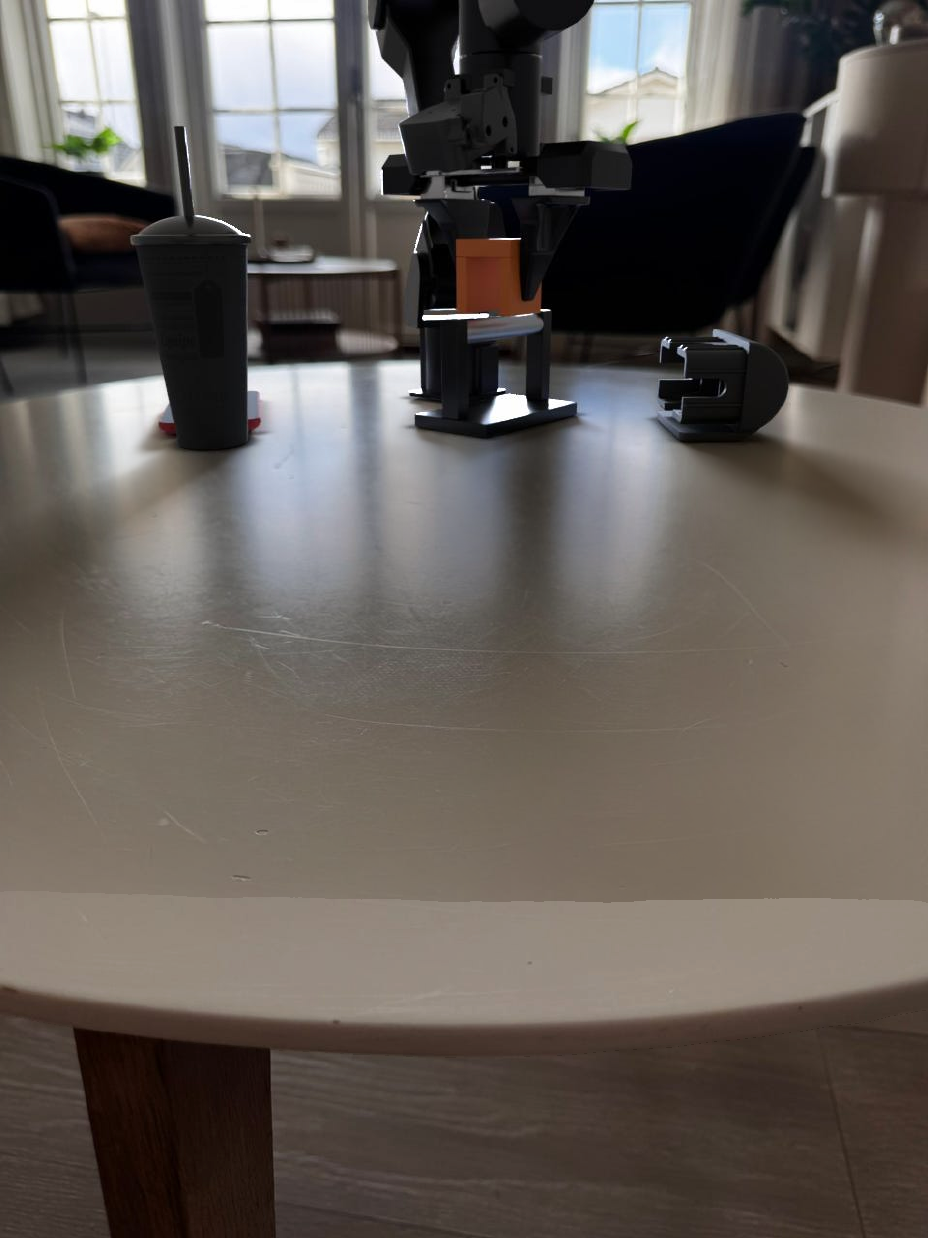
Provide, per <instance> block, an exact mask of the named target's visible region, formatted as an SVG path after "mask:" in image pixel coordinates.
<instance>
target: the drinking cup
mask: <svg viewBox="0 0 928 1238" xmlns="http://www.w3.org/2000/svg"><path fill="white" fill-rule="evenodd" d="M173 131H174V132H173V133H174V141H175V143H174V144H175V151H176V159H177V167H178V176H179V185H180V187H179V188H180V195H181V203H182V212H183V215H177V216H170V217H167V218H163V219H159V220H158V221H156V222H154V223H151V224H150V225H148V226H146V227H145V228H144V229H142V230H141V231H140V232H138V234H132V235H130V238H129V239H130V244H131V245H132V246H135V250H136V255H137V258H138V263H139V268H140V272H141V278H142V282H143V286H144V290H145V296H146V300H147V301H146V302H147V305H148V308H149V314H150V319H151V324H152V328H153V332H154V338H155V342H156V348H157V352H158V355H159V361H160V365H161V371H162V374H163V377H164V379H163V380H164V384H165V388H166V393H167V398H168V404H169V403H170V407H171V412H172V417H173V421H174V426H175V431H176V434H175V435H176V440H177V445H178V446H179V447H181V448H184V449H188V450H204V451H205V450H219V449H220V450H223V449H229V448H230V449H231V448H235V447H239V446H242V445H245V444H246V443H248V441H249V430H248V391H249V365H248V364H249V362H248V361H249V360H248V359H249V351H248V350H249V348H248V346H249V344H248V341H249V339H248V338H249V337H248V334H249V333H248V332H249V331H248V328H249V327H248V326H249V325H248V323H249V322H248V321H249V319H248V313H249V311H248V245H251V244H252V236H251V235H250V234H245V233H242V232H241V231H240V230H238V229H237V228H235V227H234V226H232V225H230V224H228V223H226V222H224V221H222V220H218V219H215V218H212V217H207V216H203V215H195V208H194V198H193V190H192V189H193V188H192V180H191V171H190V162H189V153H188V152H189V151H188V143H187V134H186V133H187V132H186V126H184V125H174V126H173Z"/></svg>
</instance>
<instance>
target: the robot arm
mask: <svg viewBox="0 0 928 1238" xmlns="http://www.w3.org/2000/svg"><path fill="white" fill-rule="evenodd" d="M594 3H595V0H367V15H368V16H367V17H368V25H369V28H370V30H372V31H375V38H376V41H377V45H378V50H379V54H380V57H381V60H383V62H385V63H386V64H387V65H388V66H389V67H390V68H391V70H393V71H394V73H395V74H397V75H398V76H399V78H401V80H402V83H403V89H404V95H405V101H406V108H407V113H408V117H407V118H405V119H402V120H401V121H399V122H398V124H397V126H398V130H399V134H400V139H401V143H402V146H403V150H404V153H395V154H394V153H393V154H388V156H387V157H386V159H385V161H384V163H383V164H382V166H381V167H380V175H381V176H380V178H381V195H382V196H401V197H403V196H404V197H419V198H415V199H413V202H414V204H415V207H417V208H423V209H424V215H425V216H424V218H423V220H422V222H421V226H420V229H419V233H418V236H417V239H416V242H415V243H416V244H415V248H414V251H413V252H412V255H411V258H410V264H409V269H408V275H407V280H406V284H405V285H406V286H405V291H404V295H403V311H404V320H405V325H406V326H408V327H410V328H413V329H415V330H419V331H418V332H419V333H418V334H419V366H420V367H419V369H420V371H419V372H420V388H419V389H412V390H408V392H409V393H408V395H409V397H412V398H419V399H420V398H421V399H427V400H435V401H442V378H441V319H450V318H453V319H467V320H468V321H469V320H478V319H487V318H496V317H505V316H499V310H498V311H488V312H487V313H480V314H479V313H473V314H448V315H447V314H446V315H445V314H443V315H442V314H440V315H424V313H425V311H427V312H428V311H457V265H456V258H457V256H456V239H508V237H507V234H506V230H505V224H504V215H503V210H502V209H501V208H500V206H499V204H498V203H497V202H491V199H479V198H478V193H477V187H504V186H524V185H525V186H527V185H528V195H511V196H510V201H511V204H512V206H513V208H514V210H515V212H516V215H517V217H518V220H519V225H520V229H519V230H520V231H519V235H520V236H519V239H520V288H521V299H522V301H532V300H534V298H535V295H536V293H537V291H538V289H539V287H540V284H541V285H542V282H543V279H544V278H545V275H546V273H547V271H548V269H549V266H550V264H551V262H552V261H553V260H552V259H553V258H554V255H555V253H556V251H557V249H558V246H559V245H560V242H561V241H562V239H563V237H564V235H565V233H567V230H568V228H569V227H570V225H571V222H572V221H573V219H574V217H575V216H576V214H577V212H578V210H579V209H580V207H581V206H589V205H590V203H591V202H590V201H591V196H585V188H589V189H590V190H591V191H593V192H598V191H599V192H601V191H603V192H604V191H627V190H631V189H632V173H633V162H632V158H631V156H630V154H629V151H628V150H627V148H626V146H625V144H622V143H614V142H606V141H598V140H591V139H587V140H573V141H560V142H559V141H557V142H541V127H542V126H541V125H542V96H551V95H553V77H549V76H544V75H543V46H544V44H543V43H544V42H545V41H547V40H549V39H551V38H553V37H555V36H557V35H559V34H560V33H562V32H563V31H565V30H568V29H569V28H571V27H573V26H575V25H576V24H578V23H579V22H581V20H583V18H584V17H585V16H587V14H588V13H589V11H590V9H591V8H592V6H593V5H594ZM457 53H458V59H459V60H458V71H459V73H457V74H456V71H455V64H454V63H455V61H456V56H457ZM509 163H518V166H513V167H509ZM482 167H490V168H482ZM499 258H500V257H499ZM499 351H500V346H499V344H498V343H496V340H491V341H483V342H476V343H469V344H468V403H470V402H475V401H479V400H484V399H489V398H493V397H498V396H503V395H507V393H506V392H507V389H506V388H502V387H501V388H500V387H499V374H500V373H499V370H500V369H499V359H500V358H499V357H500V354H499V353H500V352H499Z"/></svg>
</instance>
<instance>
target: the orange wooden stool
mask: <svg viewBox="0 0 928 1238" xmlns="http://www.w3.org/2000/svg"><path fill="white" fill-rule="evenodd" d="M456 256H457V258H456V265H457V310H456V313H457V314H460V315H471V314H479V313H488V311H498V310H499V316H518V315H527V314H535V313H541V310H542V283H541V284H540V287H539V289H538V291H537V293H536V295H535V298H534V300H532V301H522V299H521V288H520V238H507V239H456ZM499 257H500V258H499Z"/></svg>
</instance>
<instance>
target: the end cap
mask: <svg viewBox="0 0 928 1238" xmlns="http://www.w3.org/2000/svg"><path fill="white" fill-rule="evenodd" d="M659 353H660V354H659V363H660V364H684V371H683V378H666V379H665V378H658V381H657V394H656V400H657V404H658V405H659V406H660V407H661V409H663V410H658V411H657V413H656V414H657V415H656V416H657V417H656V419H657V421H659V422H660V423H661V424H662V425H663V427H665V428H666V429H667V430H668V431H669V432H670V433H671V434H672V435H673V436H674V437H675V438H676V439H677V440H678V441H681V442H689V443H692V442H693V443H694V442H695V443H696V442H699V443H701V442H702V443H705V442H709V443H710V442H714V443H715V442H716V443H717V442H719V443H720V442H737V441H741V440H745V439H747V438H749V437H750V436H752V435H753V434H754V433H756V432H757V431H759V430H760V428H761V429H762V428H763V427H764V426H766V425H767V424H769V423H770V422H772V420H773V419H774V418H776V416H777V415H778V414H779V413H780V411H781V410H782V408H783V406H784V404H785V402H786V400H787V396H788V392H789V385H790V384H789V383H790V378H789V373H788V372H789V371H788V369H787V367H786V364H785V362H784V360H783V359H782V357H781V356H780V355H779V354H778V353H777V352H776V351H775V350H774V349H772V348H771V347H769V346H767V345H765V344H763V343H760V342H757V341H754V340H753V339H749V338H746V337H743V336H741V335H738V334H735V333H732V332H729V331H727V330H724V329H718V328H717V329H716V328H713V331H712V336H666V337H665V338H663V339H662V340H661V342H660V351H659Z"/></svg>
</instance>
